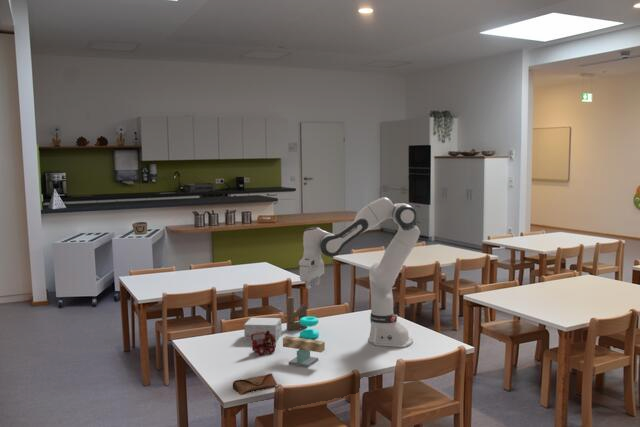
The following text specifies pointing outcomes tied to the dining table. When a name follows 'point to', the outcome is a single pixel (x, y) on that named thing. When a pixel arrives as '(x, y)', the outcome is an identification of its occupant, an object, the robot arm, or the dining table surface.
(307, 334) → the donuts
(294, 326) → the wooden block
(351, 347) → the dining table surface
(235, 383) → the sunglasses case
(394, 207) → the robot arm
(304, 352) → the fulcrum
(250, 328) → the supplement box
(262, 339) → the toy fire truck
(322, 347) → the oak bar
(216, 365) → the dining table surface
